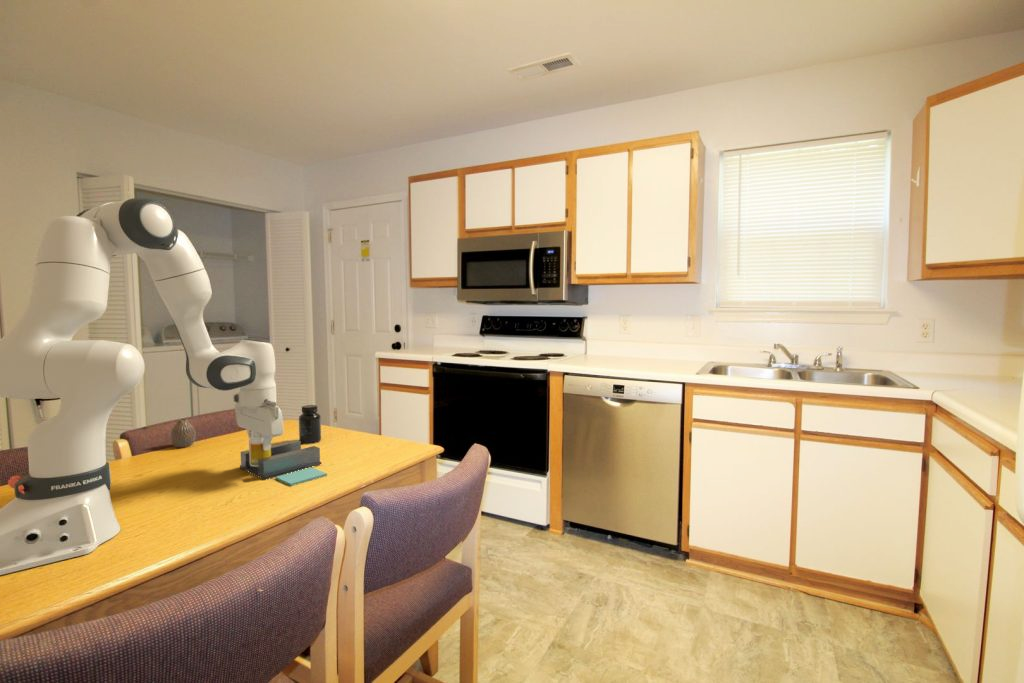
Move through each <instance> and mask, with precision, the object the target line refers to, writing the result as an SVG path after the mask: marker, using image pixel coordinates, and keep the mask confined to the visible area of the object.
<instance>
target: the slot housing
mask: <svg viewBox="0 0 1024 683" xmlns="http://www.w3.org/2000/svg"><path fill="white" fill-rule="evenodd" d="M320 451H321V449H320V447H319V446H315V445H313V446H309V447H304V448H302V443H301V441H299V440H297V439H294V440H289V441H284V442H280V443H275V444H271V456H270V457H265V458H261V459H258V467H252V466H250V463H249V449H247V450H243V451H240V465H239V469H241V468H242V469H241V470H243V469H244V471H245V470H247V471H249V472H248V473H250V472H251V473H250V474H252V473H253V474H252V475H254V474H255V475H254V476H256V475H257V476H256V477H258V476H259V478H260V477H261V479H262V478H263V480H264V479H265V480H266V479H267V480H270V479H274V478H276V477H277V476H281V475H284V474H287V473H291V472H295V471H298V470H302V469H305V468H309V467H312V466H315V467H317V466H316V465H319V466H321V465H322V461H321V453H320ZM320 464H321V465H320ZM312 468H313V467H312ZM247 471H246V472H247ZM273 477H274V478H273ZM269 478H270V479H269ZM265 480H264V481H265ZM267 480H266V481H267Z"/></svg>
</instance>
